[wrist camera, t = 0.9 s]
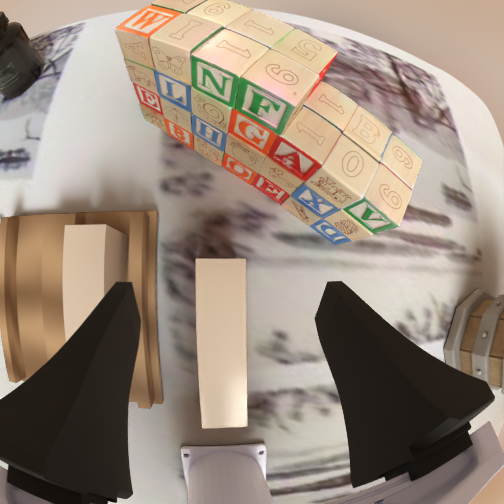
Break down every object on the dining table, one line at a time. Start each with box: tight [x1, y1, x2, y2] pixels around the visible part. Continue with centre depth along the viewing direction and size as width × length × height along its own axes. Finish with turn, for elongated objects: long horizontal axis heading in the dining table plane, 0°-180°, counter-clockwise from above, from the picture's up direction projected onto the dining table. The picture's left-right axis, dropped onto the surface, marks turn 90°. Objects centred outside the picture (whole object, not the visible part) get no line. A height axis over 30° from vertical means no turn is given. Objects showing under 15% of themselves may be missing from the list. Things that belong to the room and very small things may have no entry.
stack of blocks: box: [115, 0, 422, 245], centre depth 18 cm, size 21×6×12 cm, turn 57°
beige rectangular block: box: [196, 259, 247, 428], centre depth 20 cm, size 12×3×5 cm, turn 1°
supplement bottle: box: [0, 12, 43, 99], centre depth 14 cm, size 7×7×12 cm
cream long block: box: [63, 224, 127, 342], centre depth 17 cm, size 12×3×5 cm, turn 1°
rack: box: [0, 211, 163, 409], centre depth 18 cm, size 16×16×3 cm
